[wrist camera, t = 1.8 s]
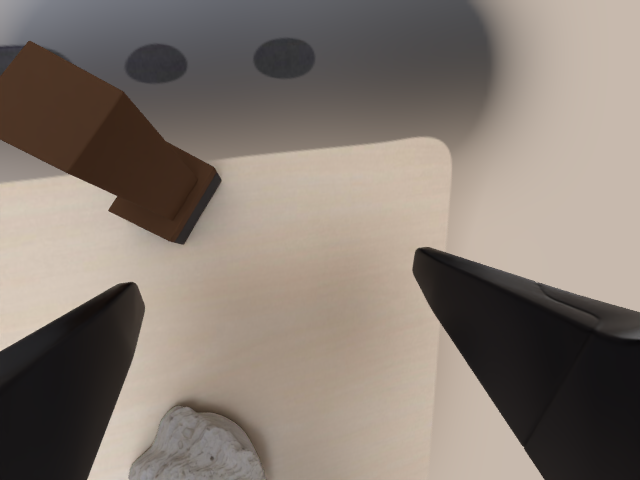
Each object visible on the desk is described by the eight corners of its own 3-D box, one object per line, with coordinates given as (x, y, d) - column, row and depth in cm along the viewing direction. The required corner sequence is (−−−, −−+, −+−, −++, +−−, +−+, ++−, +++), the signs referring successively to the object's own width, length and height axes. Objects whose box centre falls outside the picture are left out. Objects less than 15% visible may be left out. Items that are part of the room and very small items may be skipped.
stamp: (183, 244, 22) (58, 214, 9) (130, 218, 21) (-81, 146, 9) (222, 180, 23) (157, 69, 10) (171, 153, 22) (37, 2, 10)
